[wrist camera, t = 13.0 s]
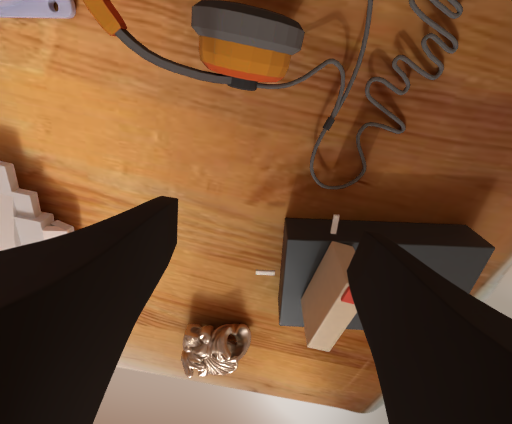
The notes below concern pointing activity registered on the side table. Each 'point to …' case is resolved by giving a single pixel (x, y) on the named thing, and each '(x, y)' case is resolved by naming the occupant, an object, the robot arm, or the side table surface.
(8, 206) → the toy rocket
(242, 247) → the side table surface
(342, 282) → the handle
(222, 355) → the ornament
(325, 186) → the headphones
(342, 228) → the panel
